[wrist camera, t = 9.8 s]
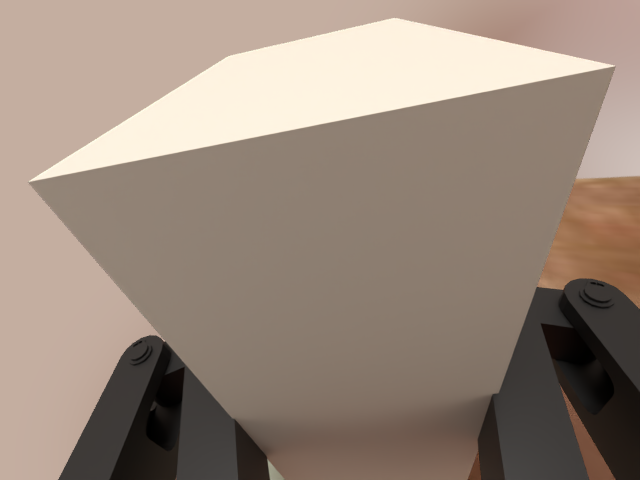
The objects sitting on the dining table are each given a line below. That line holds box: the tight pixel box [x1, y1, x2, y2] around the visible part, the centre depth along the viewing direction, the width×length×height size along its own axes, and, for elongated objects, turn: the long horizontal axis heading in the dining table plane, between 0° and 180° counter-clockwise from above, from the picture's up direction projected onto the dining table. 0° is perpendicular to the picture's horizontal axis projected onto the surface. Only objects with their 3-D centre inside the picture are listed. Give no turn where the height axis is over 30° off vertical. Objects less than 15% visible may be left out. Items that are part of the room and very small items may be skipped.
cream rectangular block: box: [28, 18, 616, 480], centre depth 11 cm, size 6×9×15 cm, turn 1°
